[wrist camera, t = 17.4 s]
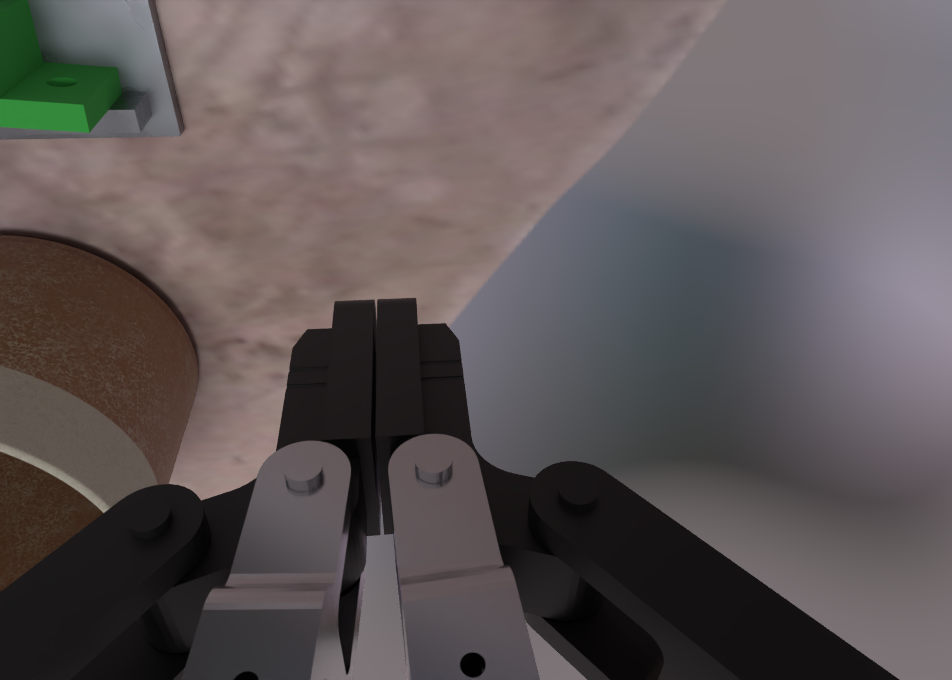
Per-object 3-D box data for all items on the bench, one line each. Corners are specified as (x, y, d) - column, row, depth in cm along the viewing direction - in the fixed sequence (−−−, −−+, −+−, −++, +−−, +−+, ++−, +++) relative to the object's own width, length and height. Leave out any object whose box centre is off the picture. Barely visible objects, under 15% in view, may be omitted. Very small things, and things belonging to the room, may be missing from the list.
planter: (243, 306, 40) (192, 501, 30) (150, 476, 48) (81, 681, 37) (-82, 172, 34) (-298, 358, 23) (-131, 393, 41) (-311, 611, 31)
